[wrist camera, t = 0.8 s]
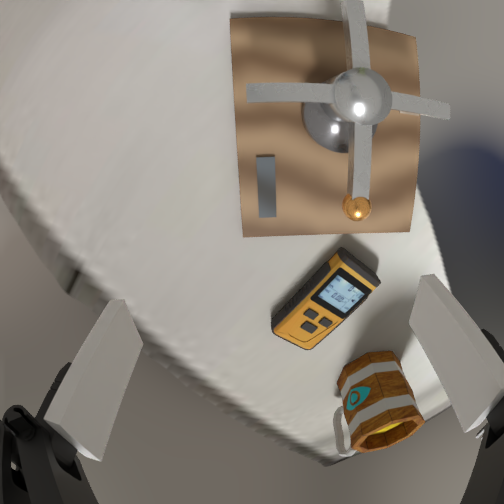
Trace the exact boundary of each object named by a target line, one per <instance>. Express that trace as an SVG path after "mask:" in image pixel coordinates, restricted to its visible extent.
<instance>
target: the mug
mask: <svg viewBox="0 0 504 504" xmlns="http://www.w3.org/2000/svg"><path fill="white" fill-rule="evenodd" d="M337 385H338V388H339V390H340V393H341V397H342V401H343V406H341V407H339V408H338V409H337V410H336V412H335V413H334V418H333V425H334V432H335V438H336V449H337V451H338V453H339V455H340V456H352V455H353V454H354V453H355V452H356V451H359V452H362V453H365V452H370V451H375V450H380V449H385V448H388V447H390V446H392V445H394V444H396V443H398V442H400V441H402V440H404V439H406V438H408V437H410V436H412V435H413V434H414V433H415V432H416V431H417V430H418V429H419V428H420V427H421V426H422V425H423V424H424V423H425V421H424V419H423V417H422V415H421V414H420V412H419V409H418V407H417V404H416V401H415V398H414V394H413V391H412V389H411V387H410V385H409V383H408V382H407V380H406V377H405V375H404V373H403V370H402V367H401V363H400V361H399V360H398V358H397V357H396V356H395V354H394V353H393V352H392V351H382V352H368V353H366V354H365V355H363V356H361V357H360V358H358V359H356V360H355V361H353V362H351V363H349V364H348V365H346V366H344V368H343V370H342V372H341V374H340V377H339V379H338V381H337ZM343 412H344V415H345V418H346V421H347V424H348V427H349V432H350V438H351V445H350V448H349V449H348V450H347V452H346V450H345V447H344V436H343V431H342V425H341V416H342V414H343Z"/></svg>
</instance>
